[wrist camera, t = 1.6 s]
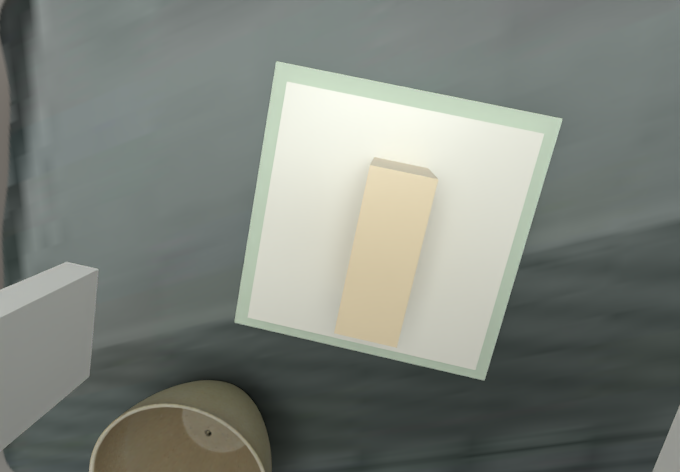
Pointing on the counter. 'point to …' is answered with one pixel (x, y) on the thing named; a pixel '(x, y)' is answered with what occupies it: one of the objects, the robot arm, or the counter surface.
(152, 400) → the flower pot
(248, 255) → the mat
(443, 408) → the counter surface
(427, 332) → the board
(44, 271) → the robot arm
